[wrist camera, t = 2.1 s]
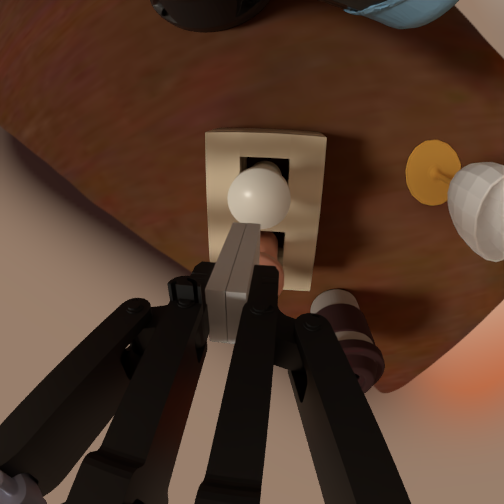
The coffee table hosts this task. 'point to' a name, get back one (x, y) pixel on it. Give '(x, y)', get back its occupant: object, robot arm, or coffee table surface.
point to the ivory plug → (260, 195)
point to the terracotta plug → (271, 254)
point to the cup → (461, 194)
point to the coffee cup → (352, 335)
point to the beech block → (299, 181)
